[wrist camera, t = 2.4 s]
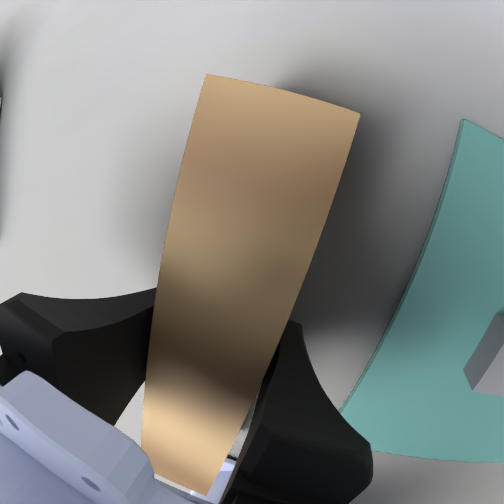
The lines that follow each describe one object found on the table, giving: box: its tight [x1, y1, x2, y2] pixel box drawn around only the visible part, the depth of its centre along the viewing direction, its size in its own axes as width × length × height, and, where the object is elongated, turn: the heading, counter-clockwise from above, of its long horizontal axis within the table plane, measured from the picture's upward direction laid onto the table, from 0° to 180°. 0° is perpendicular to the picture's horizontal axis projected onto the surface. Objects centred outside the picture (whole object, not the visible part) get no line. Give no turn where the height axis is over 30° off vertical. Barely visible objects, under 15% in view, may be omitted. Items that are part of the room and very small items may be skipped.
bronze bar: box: [141, 74, 361, 496], centre depth 11 cm, size 16×4×5 cm, turn 164°
